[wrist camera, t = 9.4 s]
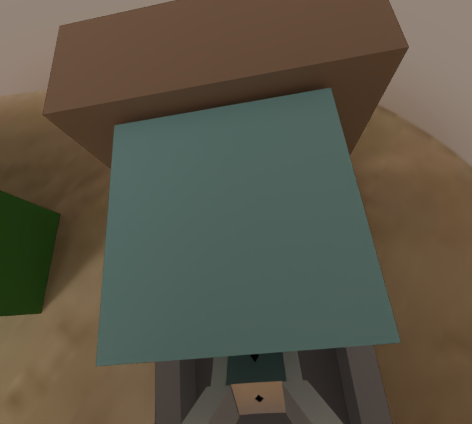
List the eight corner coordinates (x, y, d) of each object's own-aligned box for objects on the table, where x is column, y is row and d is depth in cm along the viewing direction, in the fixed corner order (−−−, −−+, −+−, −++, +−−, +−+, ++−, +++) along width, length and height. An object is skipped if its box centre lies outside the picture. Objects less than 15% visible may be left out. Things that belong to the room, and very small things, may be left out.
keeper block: (198, 326, 15) (95, 366, 6) (193, 211, 17) (114, 125, 8) (323, 315, 14) (401, 342, 5) (300, 196, 16) (330, 87, 8)
